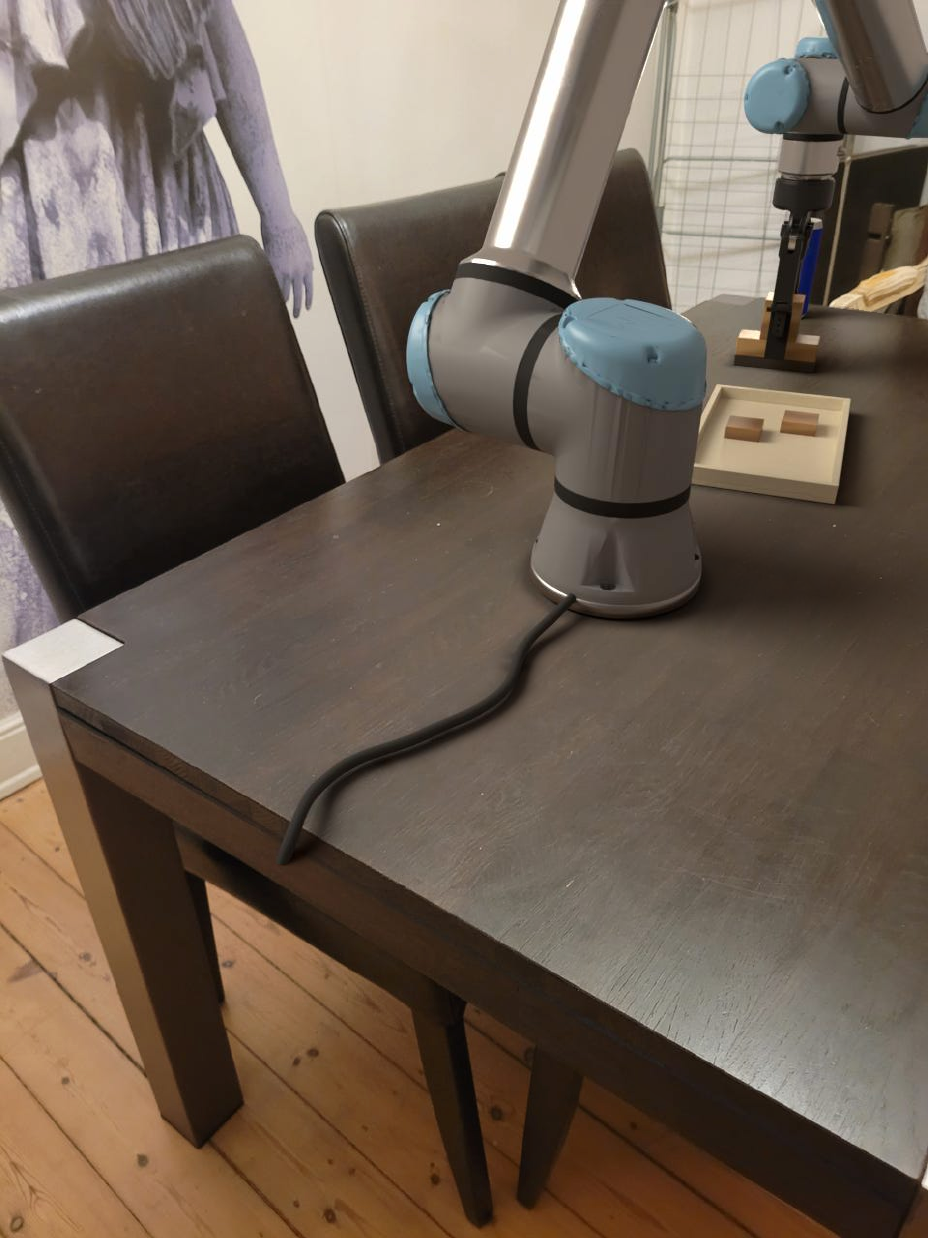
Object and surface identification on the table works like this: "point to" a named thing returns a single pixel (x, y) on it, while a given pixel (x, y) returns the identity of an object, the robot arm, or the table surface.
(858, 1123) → the table surface
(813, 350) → the brush
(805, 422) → the chip
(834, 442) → the tray
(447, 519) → the table surface
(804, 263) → the beverage can
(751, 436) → the chip
